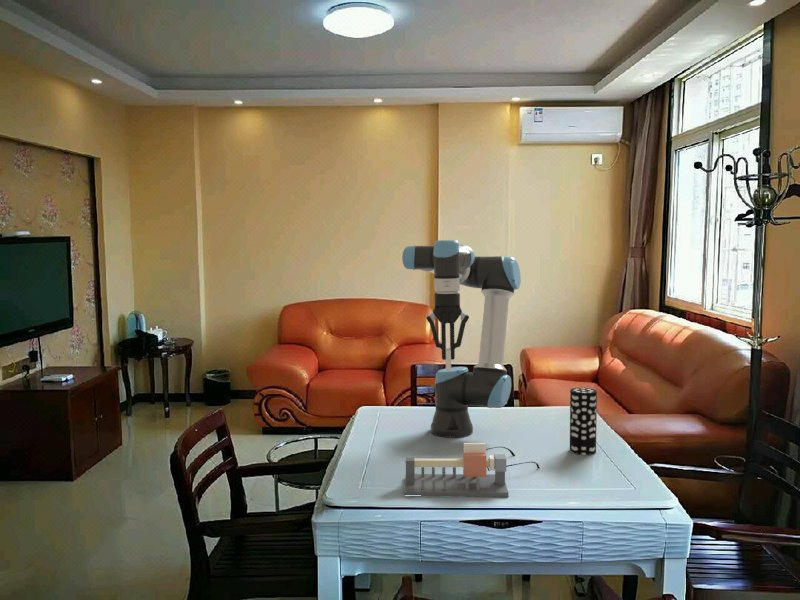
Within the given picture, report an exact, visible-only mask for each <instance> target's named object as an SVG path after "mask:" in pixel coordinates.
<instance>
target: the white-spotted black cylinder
mask: <svg viewBox="0 0 800 600" xmlns="http://www.w3.org/2000/svg"><path fill="white" fill-rule="evenodd" d="M569 391H570V394H569V396H570V397H569V399H570V400H569V451H570V452H571V453H573V454H576V455H580V454H581V455H582V456H587V455H588V456H590V455H594V454H596V453H597V411H598V410H597V409H598V408H597V403H598V401H597V400H598V390H597V389H594V388H589V387H574V388H570V390H569Z"/></svg>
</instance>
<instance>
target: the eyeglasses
mask: <svg viewBox="0 0 800 600" xmlns="http://www.w3.org/2000/svg"><path fill="white" fill-rule="evenodd" d="M497 448H499V446H495V447H491V448H490V447H489V448H486V451H488V450H491V449H492V450H493V449H497ZM500 448H502V449H506V450H507V451H509V453H510V454H511V455H512V456H511V457H515V456H516V454H515V453H514V452H513V450H511V449H510V448H508V447H504V446H500ZM527 463H530V464H531V463H534V464H535V465H536V468H537V470H538V469H541V468H540V465H539V464H538V463H537V462H535V461H527V462H526V461H525V462H521V463H513V464H509V465H507V464H506V468H509V467H512V466H517V465H518V466H519V465H522V464H527ZM486 469H487V471H488V472H491V470H490V468H489V467H486Z"/></svg>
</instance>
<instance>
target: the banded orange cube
mask: <svg viewBox="0 0 800 600" xmlns="http://www.w3.org/2000/svg"><path fill="white" fill-rule="evenodd" d="M486 445H487V444H486V442H463V449H462V451H463V452H462V455H463V456H462V459H464V467H462V469H463V470H462V472H463V471H464V477H486V474H487V467H486V459H487V453H486V452H487V450H486V449H487V446H486Z"/></svg>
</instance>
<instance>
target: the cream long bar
mask: <svg viewBox="0 0 800 600" xmlns="http://www.w3.org/2000/svg"><path fill="white" fill-rule="evenodd" d="M506 466H507V457H506V454H504V453H503V454H501V453H500V454H499V453H497V454H496V453H495V454H493V455H489V456H488V458H486V468H487V467H488V468H489V470H490V471H494V473H495V472H505V473H506V472H507V467H506ZM414 467H415V468H421V467H424V468H432V467H435V468H442V467H445V468H453V467H456V468H463V467H464V459H463V458H419V457H418V458H415V457H414Z"/></svg>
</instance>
